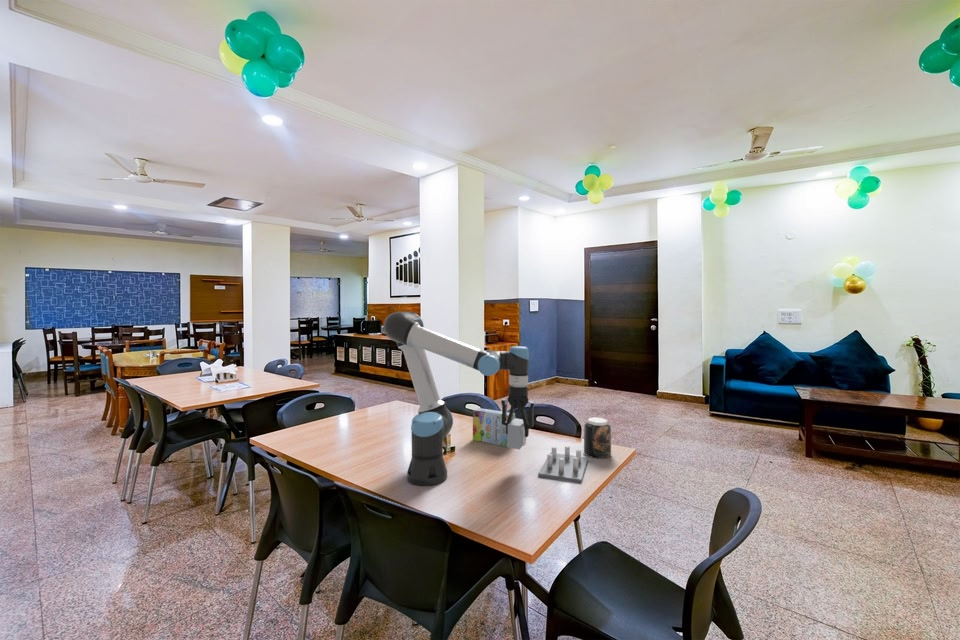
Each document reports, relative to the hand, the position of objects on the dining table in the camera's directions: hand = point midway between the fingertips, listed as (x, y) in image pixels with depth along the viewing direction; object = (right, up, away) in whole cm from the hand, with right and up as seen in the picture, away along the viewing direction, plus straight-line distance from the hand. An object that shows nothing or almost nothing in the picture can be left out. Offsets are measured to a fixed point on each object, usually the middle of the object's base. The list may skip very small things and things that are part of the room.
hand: (516, 443), depth 159 cm
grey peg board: (+19, -10, +2) cm, 22 cm away
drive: (0, 0, 0) cm, 0 cm away
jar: (+37, -10, +18) cm, 43 cm away
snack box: (-8, -10, +33) cm, 36 cm away
